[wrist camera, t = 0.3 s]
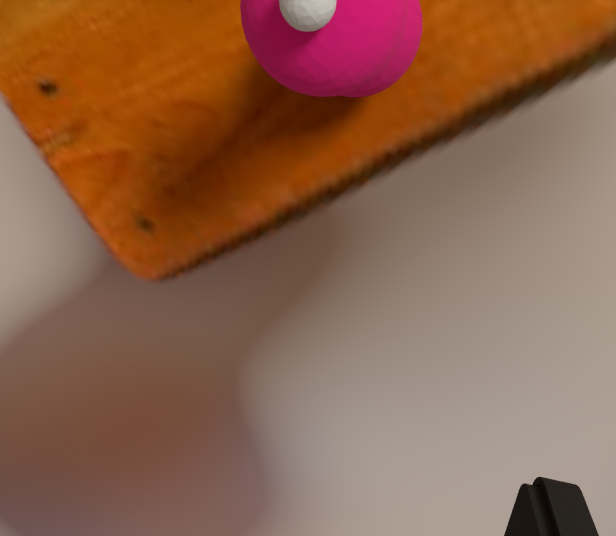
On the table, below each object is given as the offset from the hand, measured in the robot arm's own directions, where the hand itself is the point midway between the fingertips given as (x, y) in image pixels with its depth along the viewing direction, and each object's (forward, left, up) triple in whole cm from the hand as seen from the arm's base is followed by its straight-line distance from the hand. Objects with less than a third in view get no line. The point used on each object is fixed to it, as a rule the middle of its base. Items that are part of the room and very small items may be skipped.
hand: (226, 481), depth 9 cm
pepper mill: (-8, -2, -31) cm, 32 cm away
